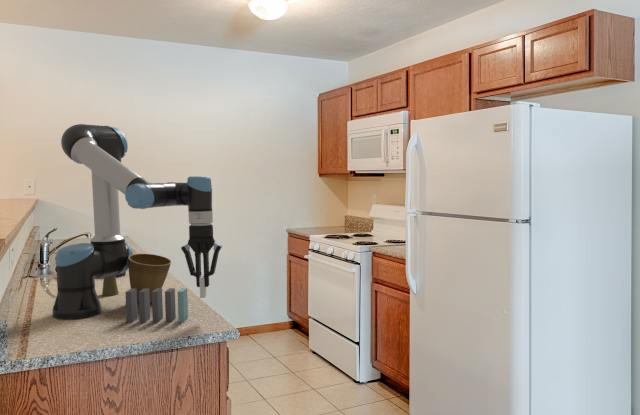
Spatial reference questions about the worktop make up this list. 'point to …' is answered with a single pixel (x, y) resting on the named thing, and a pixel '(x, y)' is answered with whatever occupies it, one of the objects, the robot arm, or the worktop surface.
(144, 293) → the domino
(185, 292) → the domino
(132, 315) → the domino
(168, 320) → the domino
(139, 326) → the worktop surface
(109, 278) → the cork
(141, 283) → the plant pot
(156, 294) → the domino
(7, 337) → the worktop surface
